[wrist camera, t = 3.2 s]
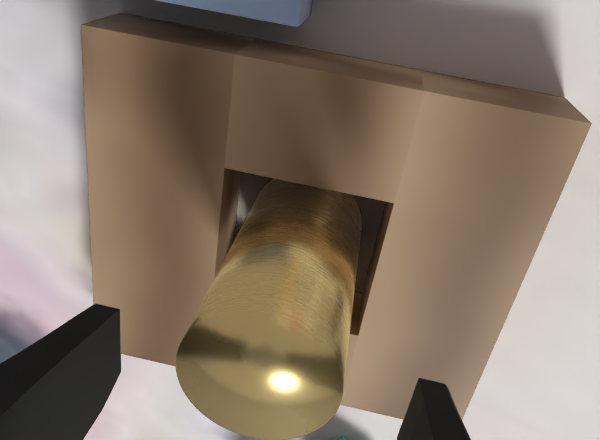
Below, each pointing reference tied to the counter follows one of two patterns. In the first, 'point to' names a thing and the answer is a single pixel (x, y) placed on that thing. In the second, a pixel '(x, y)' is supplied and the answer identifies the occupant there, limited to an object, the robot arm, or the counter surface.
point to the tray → (256, 9)
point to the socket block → (323, 174)
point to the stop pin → (277, 316)
